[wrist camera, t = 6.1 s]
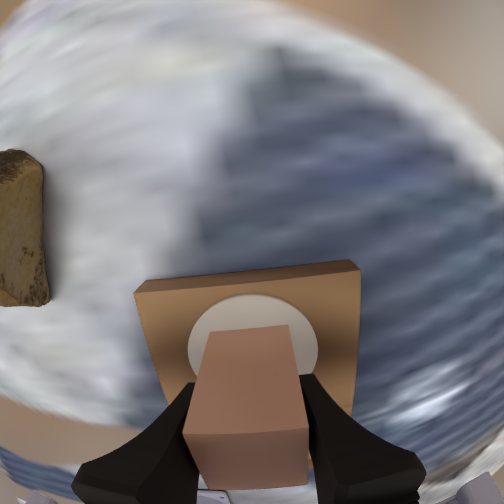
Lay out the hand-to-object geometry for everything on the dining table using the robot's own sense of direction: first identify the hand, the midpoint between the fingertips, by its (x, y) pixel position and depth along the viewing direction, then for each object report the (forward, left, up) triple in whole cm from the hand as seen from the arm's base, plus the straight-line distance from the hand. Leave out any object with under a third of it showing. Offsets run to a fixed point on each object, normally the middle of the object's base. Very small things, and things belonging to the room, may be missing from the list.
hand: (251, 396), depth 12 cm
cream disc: (0, 0, -4) cm, 4 cm away
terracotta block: (0, 0, -3) cm, 3 cm away
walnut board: (-4, 0, -6) cm, 7 cm away
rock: (+9, +15, -6) cm, 18 cm away
